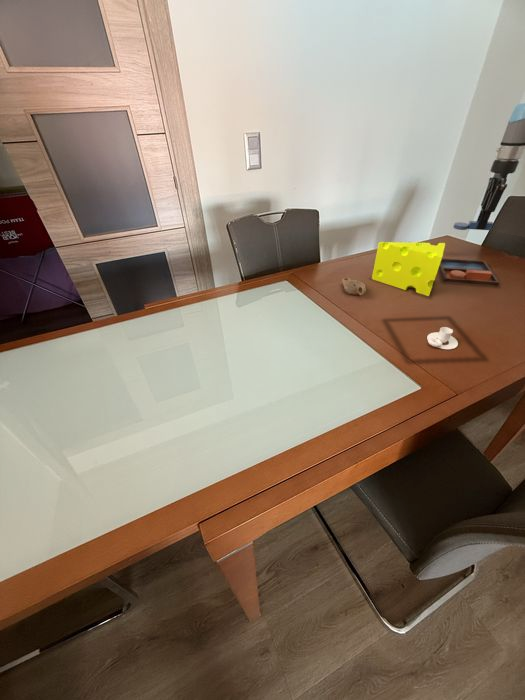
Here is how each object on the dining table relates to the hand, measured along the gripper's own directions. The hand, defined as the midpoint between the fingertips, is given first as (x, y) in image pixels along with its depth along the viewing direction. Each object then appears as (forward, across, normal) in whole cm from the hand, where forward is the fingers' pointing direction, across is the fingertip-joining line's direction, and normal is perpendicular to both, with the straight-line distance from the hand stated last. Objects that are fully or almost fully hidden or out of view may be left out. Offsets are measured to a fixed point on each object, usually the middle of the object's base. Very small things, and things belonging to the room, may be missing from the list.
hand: (479, 227), depth 121 cm
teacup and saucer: (+13, +64, -21) cm, 68 cm away
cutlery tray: (+13, +16, -4) cm, 21 cm away
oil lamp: (+13, +40, -44) cm, 61 cm away
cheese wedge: (+13, +31, -25) cm, 42 cm away
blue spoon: (0, 0, -3) cm, 3 cm away
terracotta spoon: (+12, +21, -4) cm, 24 cm away
